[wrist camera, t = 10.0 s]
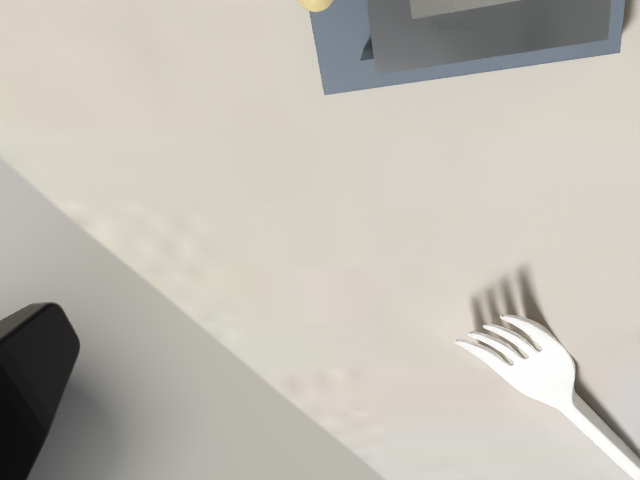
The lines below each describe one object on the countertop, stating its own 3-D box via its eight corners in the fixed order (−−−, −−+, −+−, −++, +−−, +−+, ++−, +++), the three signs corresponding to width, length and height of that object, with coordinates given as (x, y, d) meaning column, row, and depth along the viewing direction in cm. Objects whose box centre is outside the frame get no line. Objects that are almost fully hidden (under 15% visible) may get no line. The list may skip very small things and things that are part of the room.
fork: (663, 526, 30) (677, 561, 29) (441, 316, 24) (444, 347, 22) (724, 508, 29) (742, 545, 27) (505, 279, 22) (513, 309, 20)
